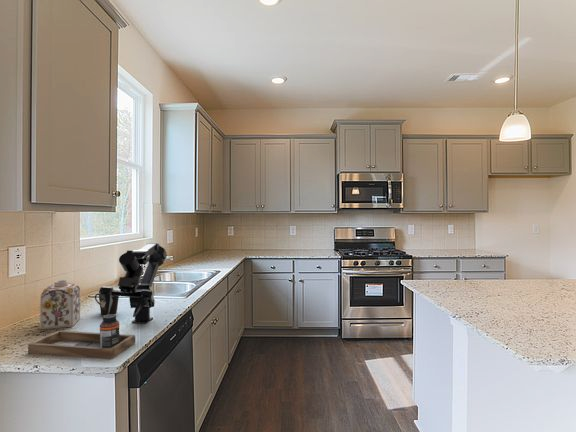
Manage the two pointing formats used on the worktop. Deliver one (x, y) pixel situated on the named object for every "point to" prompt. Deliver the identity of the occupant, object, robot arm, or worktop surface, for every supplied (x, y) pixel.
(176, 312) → the worktop surface
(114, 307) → the coffee mug
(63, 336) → the wooden serving tray
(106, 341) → the supplement bottle
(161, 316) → the worktop surface
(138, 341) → the worktop surface
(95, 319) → the worktop surface
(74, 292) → the decorative jar
